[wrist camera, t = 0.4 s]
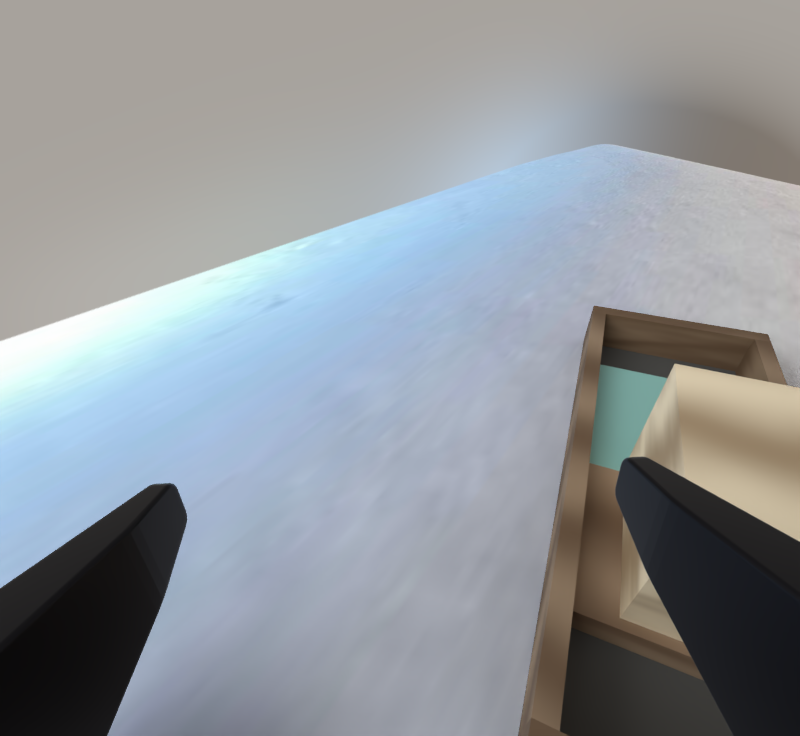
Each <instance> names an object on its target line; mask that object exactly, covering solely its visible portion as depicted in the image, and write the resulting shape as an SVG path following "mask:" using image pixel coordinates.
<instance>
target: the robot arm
mask: <svg viewBox="0 0 800 736" xmlns="http://www.w3.org/2000/svg"><path fill="white" fill-rule="evenodd" d="M615 496H616V500H617V502H618V505H619V507H620V510H621V512H622V515H623V517H624V520H625V522H626V524H627V527H628V529H629V532H630V534H631V537H632V539H633V542H634V544H635V546H636V549H637V551H638V554H639V556H640V559H641V561H642V563H643V566H644V568H645V570H646V572H647V574H648V576H649V578H650V580H651V582H652V584H653V586H654V588H655V590H656V592H657V594H658V596H659V597H660V599H661V601H662V603H663V605H664V607H665V609H666V611H667V612H668V614H669V616H670V618H671V620H672V622H673V624H674V626H675V627H676V629H677V631H678V633H679V635H680V637H681V639H682V641H683V643H684V644H685V646H686V648H687V650H688V652H689V654H690V656H691V658H692V659H693V661H694V663H695V665H696V667H697V669H698V671H699V673H700V674H701V676H702V678H703V680H704V682H705V684H706V686H707V688H708V689H709V691H710V693H711V695H712V697H713V699H714V701H715V703H716V704H717V706H718V708H719V710H720V712H721V714H722V716H723V718H724V720H725V721H726V723H727V725H728V727H729V729H730V731H731V733H732V735H733V736H800V541H798V540H796V539H794V538H792V537H791V536H789V535H787V534H785V533H783V532H782V531H780V530H778V529H776V528H774V527H773V526H771V525H769V524H767V523H765V522H763V521H762V520H760V519H758V518H756V517H754V516H753V515H751V514H749V513H747V512H745V511H744V510H742V509H740V508H738V507H736V506H735V505H733V504H731V503H729V502H727V501H726V500H724V499H722V498H720V497H718V496H716V495H715V494H713V493H711V492H709V491H707V490H706V489H704V488H702V487H700V486H698V485H697V484H695V483H693V482H691V481H689V480H688V479H686V478H684V477H682V476H680V475H678V474H677V473H675V472H673V471H671V470H669V469H668V468H666V467H664V466H662V465H660V464H659V463H657V462H655V461H653V460H651V459H649V458H647V457H628V458H625V459H624V460H623V461H622V463H621V467H620V471H619V475H618V479H617V483H616V487H615ZM186 523H187V513H186V510H185V507H184V505H183V502H182V500H181V497H180V494H179V492H178V489H177V487H176V486H175V485H174V484H171V483H163V484H153V485H150V486H148V487H147V488H145V489H144V490H143V491H141V492H140V493H138V494H137V495H135V496H134V497H132V498H131V499H129V500H128V501H127V502H125V503H124V504H122V505H121V506H119V507H118V508H116V509H115V510H113V511H112V512H111V513H109V514H108V515H106V516H105V517H103V518H102V519H100V520H99V521H97V522H96V523H95V524H93V525H92V526H90V527H89V528H87V529H86V530H84V531H83V532H81V533H80V534H79V535H77V536H76V537H74V538H73V539H71V540H70V541H68V542H67V543H65V544H64V545H63V546H61V547H60V548H58V549H57V550H55V551H54V552H52V553H51V554H49V555H48V556H47V557H45V558H44V559H42V560H41V561H39V562H38V563H36V564H35V565H33V566H32V567H31V568H29V569H28V570H26V571H25V572H23V573H22V574H20V575H19V576H18V577H16V578H15V579H13V580H12V581H10V582H9V583H7V584H6V585H4V586H3V587H2V588H0V736H107V735H108V733H109V730H110V728H111V725H112V723H113V720H114V718H115V716H116V713H117V711H118V708H119V706H120V704H121V701H122V699H123V696H124V694H125V692H126V689H127V687H128V684H129V682H130V679H131V677H132V675H133V672H134V670H135V667H136V665H137V663H138V660H139V658H140V655H141V653H142V650H143V648H144V646H145V643H146V641H147V638H148V636H149V634H150V631H151V629H152V626H153V624H154V622H155V619H156V617H157V614H158V612H159V609H160V607H161V604H162V602H163V599H164V596H165V593H166V590H167V587H168V584H169V580H170V577H171V574H172V570H173V567H174V564H175V560H176V557H177V554H178V550H179V547H180V544H181V540H182V537H183V534H184V530H185V527H186Z"/></svg>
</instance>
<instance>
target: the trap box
mask: <svg viewBox="0 0 800 736" xmlns="http://www.w3.org/2000/svg"><path fill="white" fill-rule="evenodd" d="M674 364H680V365H685V366H690V367H695V368H700V369H705V370H710V371H715V372H721V373H726V374H731V375H736V376H741V377H746V378H751V379H756V380H761V381H767V382H772V383H777V384H782V385H787V384H786V381H785V378H784V376H783V373H782V370H781V368H780V365H779V362H778V360H777V357H776V354H775V352H774V349H773V346H772V344H771V341H770V338H769V336H768V334H762V333H756V332H750V331H744V330H738V329H732V328H726V327H720V326H714V325H708V324H701V323H695V322H689V321H683V320H677V319H671V318H665V317H659V316H653V315H647V314H641V313H635V312H629V311H623V310H617V309H611V308H605V307H599V306H594V307H593V311H592V314H591V318H590V321H589V324H588V328H587V331H586V335H585V338H584V344H583V350H582V356H581V362H580V368H579V374H578V380H577V386H576V392H575V398H574V404H573V410H572V416H571V422H570V428H569V434H568V440H567V446H566V452H565V458H564V464H563V470H562V476H561V482H560V488H559V494H558V500H557V506H556V512H555V518H554V524H553V530H552V536H551V542H550V548H549V554H548V560H547V566H546V572H545V578H544V584H543V590H542V596H541V602H540V608H539V614H538V620H537V626H536V632H535V638H534V644H533V650H532V656H531V662H530V668H529V674H528V680H527V686H526V692H525V698H524V704H523V710H522V716H521V722H520V728H519V734H518V736H733V735H732V733H731V731H730V729H729V727H728V725H727V723H726V721H725V720H724V718H723V716H722V714H721V712H720V710H719V708H718V706H717V704H716V703H715V701H714V699H713V697H712V695H711V693H710V691H709V689H708V688H707V686H706V684H705V682H704V680H703V678H702V676H701V674H700V673H699V671H698V669H697V667H696V665H695V663H694V661H693V659H692V658H691V656H690V654H689V652H688V650H687V648H686V646H685V644H684V643H683V642H682V641H679V640H676V639H674V638H671V637H669V636H666V635H663V634H661V633H658V632H655V631H653V630H650V629H648V628H645V627H642V626H640V625H637V624H635V623H632V622H629V621H627V620H624V619H621V618H620V591H621V562H622V533H623V515H622V512H621V510H620V507H619V505H618V502H617V500H616V496H615V487H616V483H617V479H618V475H619V471H620V467H621V463H622V461H623V460H624V459H625V458H628V457H630V455H631V452H632V450H633V448H634V446H635V444H636V442H637V440H638V438H639V436H640V434H641V432H642V430H643V428H644V426H645V424H646V422H647V419H648V417H649V415H650V413H651V411H652V409H653V407H654V405H655V403H656V401H657V399H658V397H659V395H660V393H661V391H662V389H663V387H664V384H665V382H666V380H667V378H668V376H669V374H670V372H671V370H672V368H673V366H674Z"/></svg>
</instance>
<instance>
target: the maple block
mask: <svg viewBox="0 0 800 736" xmlns="http://www.w3.org/2000/svg"><path fill="white" fill-rule="evenodd" d="M630 457H647V458H649V459H651V460H653V461H655V462H657V463H659V464H660V465H662V466H664V467H666V468H668V469H669V470H671V471H673V472H675V473H677V474H678V475H680V476H682V477H684V478H686V479H688V480H689V481H691V482H693V483H695V484H697V485H698V486H700V487H702V488H704V489H706V490H707V491H709V492H711V493H713V494H715V495H716V496H718V497H720V498H722V499H724V500H726V501H727V502H729V503H731V504H733V505H735V506H736V507H738V508H740V509H742V510H744V511H745V512H747V513H749V514H751V515H753V516H754V517H756V518H758V519H760V520H762V521H763V522H765V523H767V524H769V525H771V526H773V527H774V528H776V529H778V530H780V531H782V532H783V533H785V534H787V535H789V536H791V537H792V538H794V539H796V540H798V541H800V388H797V387H792V386H787V385H782V384H777V383H772V382H767V381H761V380H756V379H751V378H746V377H741V376H736V375H731V374H726V373H721V372H715V371H710V370H705V369H700V368H695V367H690V366H685V365H680V364H674V366H673V368H672V370H671V372H670V374H669V376H668V378H667V380H666V382H665V384H664V387H663V389H662V391H661V393H660V395H659V397H658V399H657V401H656V403H655V405H654V407H653V409H652V411H651V413H650V415H649V417H648V419H647V422H646V424H645V426H644V428H643V430H642V432H641V434H640V436H639V438H638V440H637V442H636V444H635V446H634V448H633V450H632V452H631V455H630ZM620 618H621V619H624V620H627V621H629V622H632V623H635V624H637V625H640V626H642V627H645V628H648V629H650V630H653V631H655V632H658V633H661V634H663V635H666V636H669V637H671V638H674V639H676V640H679V641H682V639H681V637H680V635H679V633H678V631H677V629H676V627H675V626H674V624H673V622H672V620H671V618H670V616H669V614H668V612H667V611H666V609H665V607H664V605H663V603H662V601H661V599H660V597H659V596H658V594H657V592H656V590H655V588H654V586H653V584H652V582H651V580H650V578H649V576H648V574H647V572H646V570H645V568H644V566H643V563H642V561H641V559H640V556H639V554H638V551H637V549H636V546H635V544H634V542H633V539H632V537H631V534H630V532H629V529H628V527H627V524H626V522H625V520H624V517H623V533H622V562H621V591H620ZM682 642H683V641H682Z"/></svg>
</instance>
